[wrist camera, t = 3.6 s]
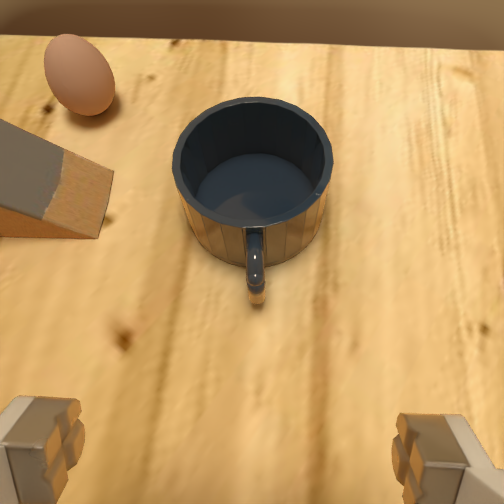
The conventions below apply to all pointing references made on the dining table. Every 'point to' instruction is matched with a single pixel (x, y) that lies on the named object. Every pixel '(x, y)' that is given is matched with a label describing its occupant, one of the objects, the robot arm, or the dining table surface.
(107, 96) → the egg
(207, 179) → the coffee mug
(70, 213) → the sandwich container
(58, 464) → the robot arm
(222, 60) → the dining table surface
